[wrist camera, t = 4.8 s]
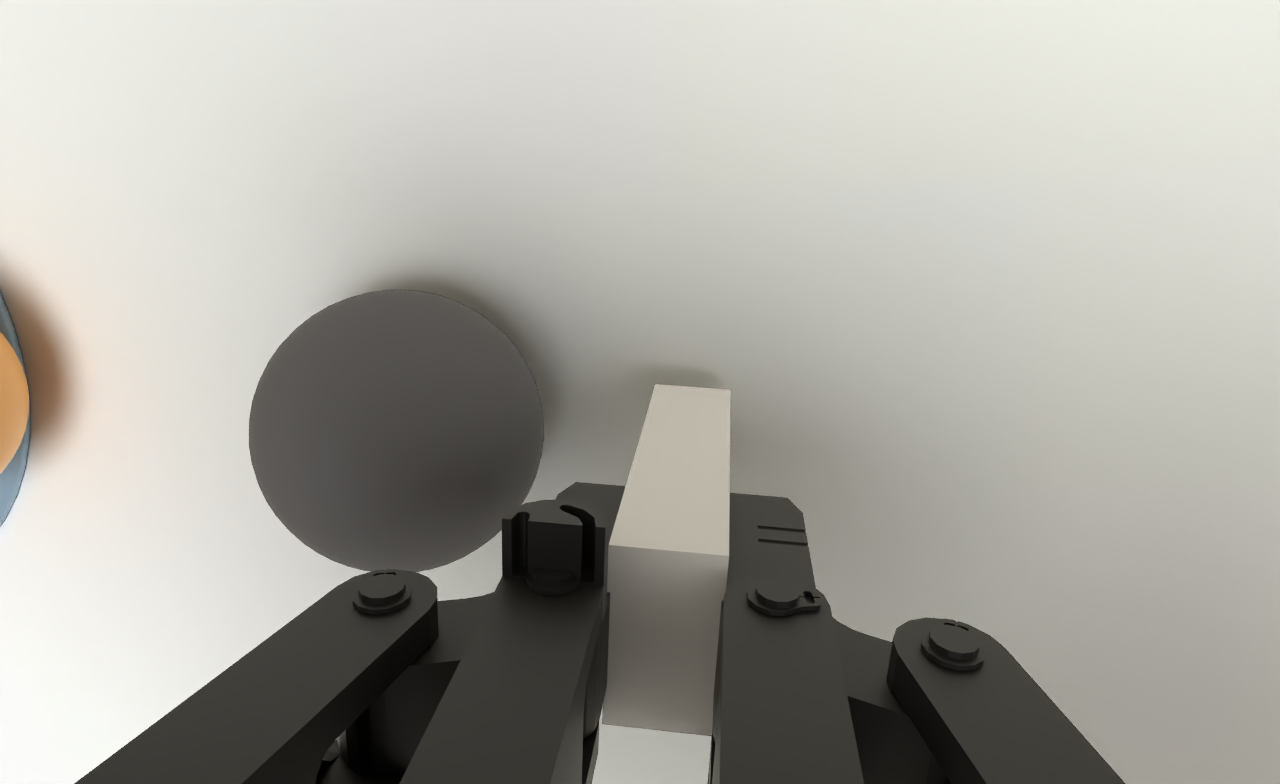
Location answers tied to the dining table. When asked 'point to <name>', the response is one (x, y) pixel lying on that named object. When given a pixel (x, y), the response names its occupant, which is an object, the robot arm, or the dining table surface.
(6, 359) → the object ball
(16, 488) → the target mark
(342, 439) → the dark grey round piece
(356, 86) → the dining table surface
